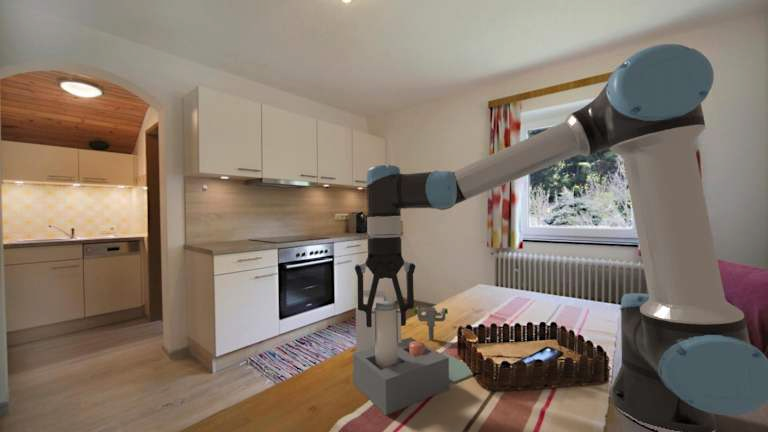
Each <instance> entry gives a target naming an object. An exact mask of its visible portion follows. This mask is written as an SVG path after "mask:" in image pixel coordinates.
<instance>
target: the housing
mask: <svg viewBox="0 0 768 432" xmlns="http://www.w3.org/2000/svg"><path fill="white" fill-rule="evenodd" d="M413 341H418V340H417V339H415V338H412V337H408V338H402V339H401V343H398V365H395V366H392V367H389V368H386V369H383V370H380V369H379V368H377V367H376V358H375V347H374V348H371V349H367V350H363V351H360V352H353V353H352V380H353V383H352V384H354V386H355V387H356V388H357V389H358V390H359V391H361V393H363V395H364V396H366V398H367V399H368V400H370V401H371V402H372V404H373V405H374V406H375V407H377V408H378V409H379V411H381V412H382V413H383V415H385V416H389V415H391V414H393V413H396V412H399V411H400V410H402V409H405V408H408V407H409V406H411V405H414V404H416V403H420V402H421V401H423V400H426V399H428V398H430V397H432V396H436V395H437V394H440V393H443V392H444V391H447V390H449V389H450V381H449V357H447V356H445V355H443V354H444V353H441V352H439V351H437V350H435V349H434V348H431V347H429V346H428V345H426V344H425V354H423V355H419V356H416V357H415V356H413V355H412V354H410V353H409V343H410V342H413Z"/></svg>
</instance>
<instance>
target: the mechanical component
mask: <svg viewBox="0 0 768 432" xmlns="http://www.w3.org/2000/svg"><path fill="white" fill-rule="evenodd" d="M413 309H414V312H413V313H414V315H417V318H418V321H420V322H426V323H427V324H426V326H427V327H428V341H430V342H431V341H432V342H433V341H434V339H435V337H434V335H435V334H434V332H435V331H434V329H435V328H434V327H436V322H445V320H446V314H447V315H448V308H446V307H441V310H440V311H437V309H436V307H435V306H416V308H413ZM422 313H424V314H422ZM438 316H439V317H438Z"/></svg>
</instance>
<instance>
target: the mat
mask: <svg viewBox="0 0 768 432" xmlns="http://www.w3.org/2000/svg"><path fill="white" fill-rule="evenodd" d="M442 354H443V355H445V356H447V357H449V382H451V383H453V384H456V383H458V382H461V381H463V380H465V379H468V378H470V377H472V376H474V375H473V373H472V372H471V370H470V369H469V367H468V366H467V363H465V362H463V361H462V360H460V359H458V358H456V357H454V356H452V355H450V354H449V353H446V352H445V353H442Z"/></svg>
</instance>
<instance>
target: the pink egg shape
mask: <svg viewBox="0 0 768 432" xmlns="http://www.w3.org/2000/svg"><path fill="white" fill-rule="evenodd" d="M425 345H426V344H425V343H424V342H423V341H420V340H417V341H413V342H410V343H409V353H410V354H412V355H413V356H415V357H416V356H419V355H423V354H425Z"/></svg>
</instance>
